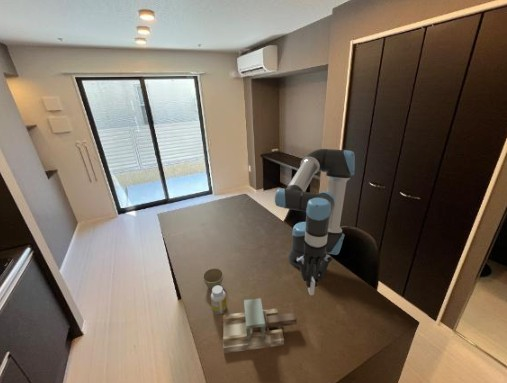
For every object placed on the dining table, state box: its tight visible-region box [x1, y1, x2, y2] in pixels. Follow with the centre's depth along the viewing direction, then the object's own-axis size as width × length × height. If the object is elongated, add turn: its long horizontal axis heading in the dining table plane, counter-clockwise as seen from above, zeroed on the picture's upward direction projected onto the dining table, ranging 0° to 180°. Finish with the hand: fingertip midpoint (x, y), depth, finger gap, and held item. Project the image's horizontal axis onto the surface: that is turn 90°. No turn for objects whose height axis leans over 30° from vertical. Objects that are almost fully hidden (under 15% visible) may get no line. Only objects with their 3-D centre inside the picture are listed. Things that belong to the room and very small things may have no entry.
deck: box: [222, 297, 285, 354], centre depth 91 cm, size 23×14×12 cm, turn 97°
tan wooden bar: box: [252, 311, 298, 332], centre depth 92 cm, size 18×5×5 cm, turn 97°
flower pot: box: [202, 268, 224, 290], centre depth 115 cm, size 10×10×7 cm
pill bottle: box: [210, 285, 228, 315], centre depth 101 cm, size 6×6×12 cm
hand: (310, 292), depth 88 cm, fingers closed
